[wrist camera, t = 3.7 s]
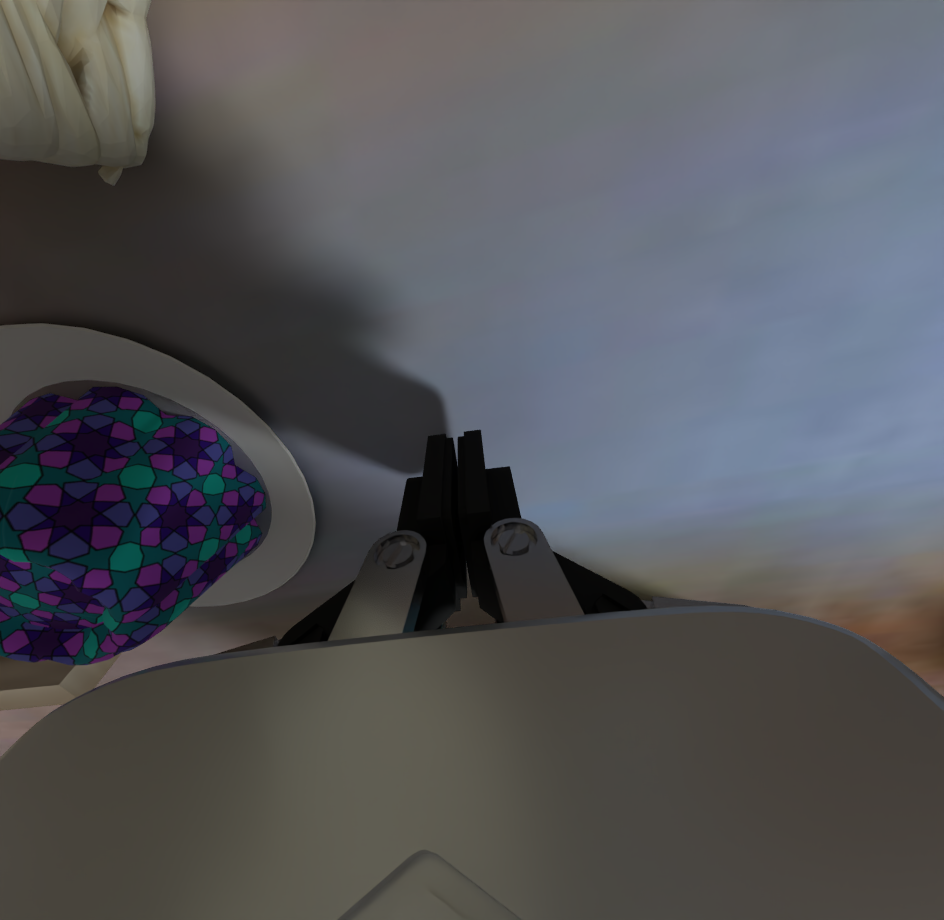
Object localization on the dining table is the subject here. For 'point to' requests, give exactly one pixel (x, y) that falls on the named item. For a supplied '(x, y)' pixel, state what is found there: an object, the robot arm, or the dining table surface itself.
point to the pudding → (129, 498)
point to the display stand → (46, 682)
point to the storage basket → (76, 83)
